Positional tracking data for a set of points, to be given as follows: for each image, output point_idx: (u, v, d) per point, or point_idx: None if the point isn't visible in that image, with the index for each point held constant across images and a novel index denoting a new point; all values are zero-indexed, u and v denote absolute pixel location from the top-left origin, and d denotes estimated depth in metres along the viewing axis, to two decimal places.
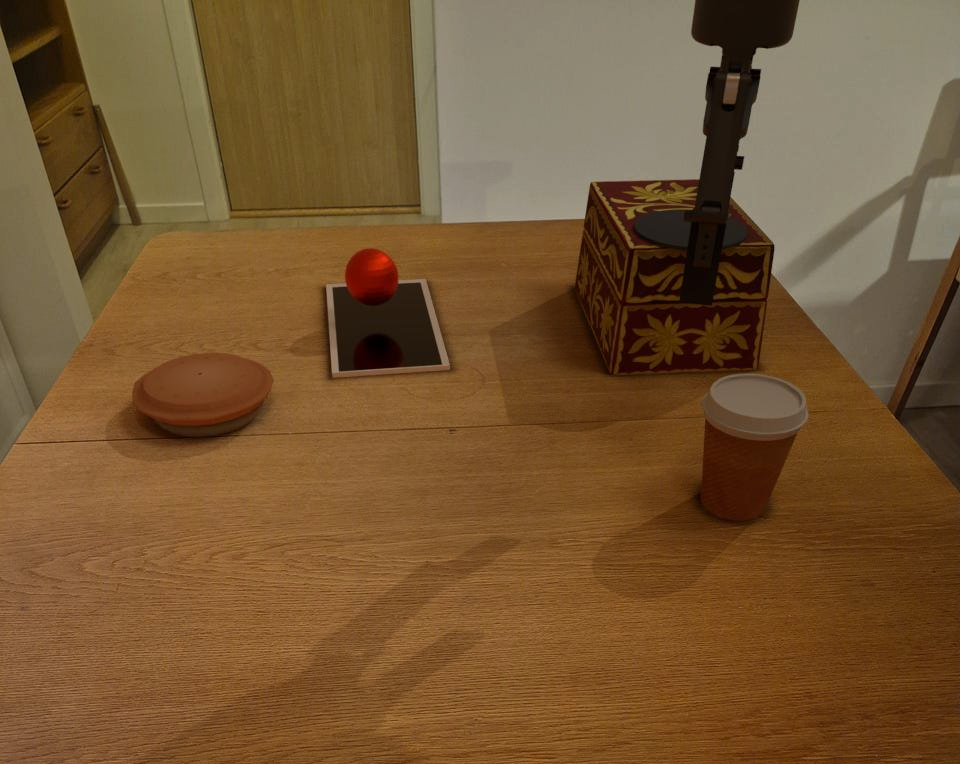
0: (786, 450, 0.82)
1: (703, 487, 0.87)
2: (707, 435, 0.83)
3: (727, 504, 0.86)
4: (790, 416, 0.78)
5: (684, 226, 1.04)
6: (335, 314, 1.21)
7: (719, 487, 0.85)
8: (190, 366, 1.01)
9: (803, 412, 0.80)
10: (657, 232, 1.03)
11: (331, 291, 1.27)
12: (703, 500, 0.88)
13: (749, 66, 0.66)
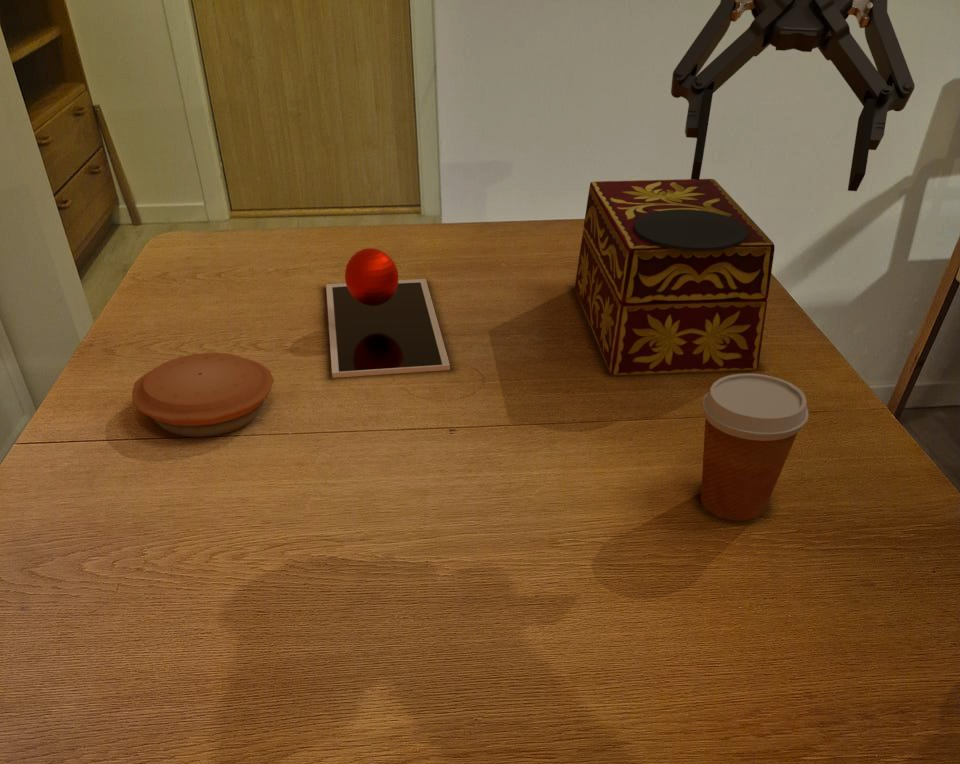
0: (786, 450, 0.82)
1: (703, 487, 0.87)
2: (707, 435, 0.83)
3: (727, 504, 0.86)
4: (790, 416, 0.78)
5: (684, 226, 1.04)
6: (335, 314, 1.21)
7: (719, 487, 0.85)
8: (190, 366, 1.01)
9: (803, 412, 0.80)
10: (657, 232, 1.03)
11: (331, 291, 1.27)
12: (703, 500, 0.88)
13: None
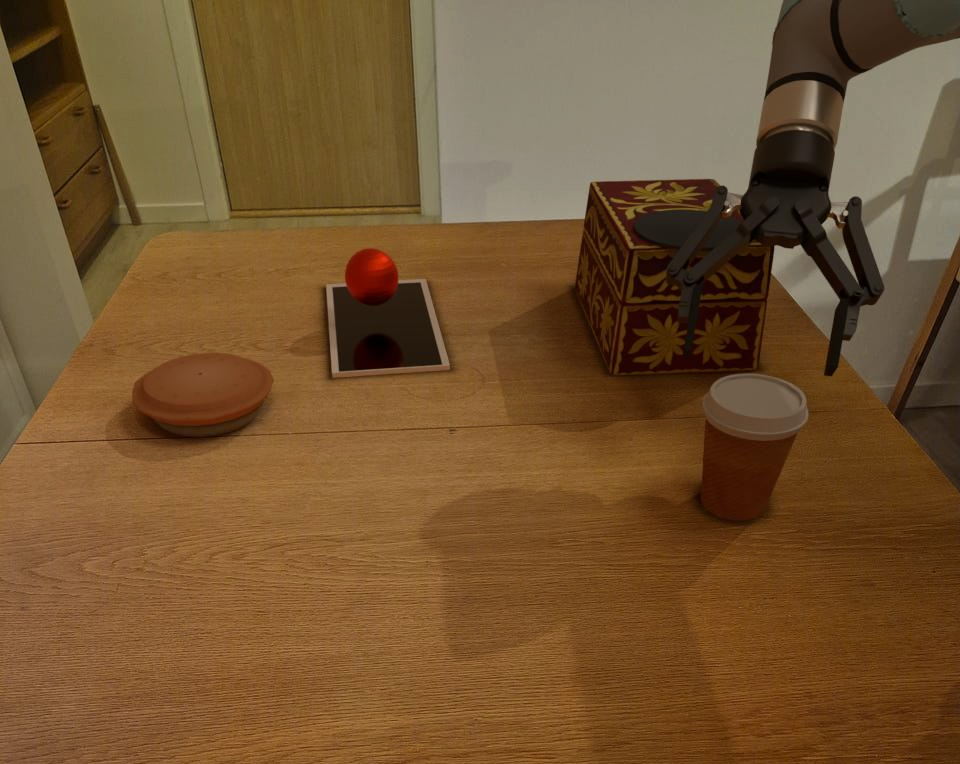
0: (786, 450, 0.82)
1: (703, 487, 0.87)
2: (707, 435, 0.83)
3: (727, 504, 0.86)
4: (790, 416, 0.78)
5: (684, 226, 1.04)
6: (335, 314, 1.21)
7: (719, 487, 0.85)
8: (190, 366, 1.01)
9: (803, 412, 0.80)
10: (657, 232, 1.03)
11: (331, 291, 1.27)
12: (703, 500, 0.88)
13: (750, 189, 0.86)
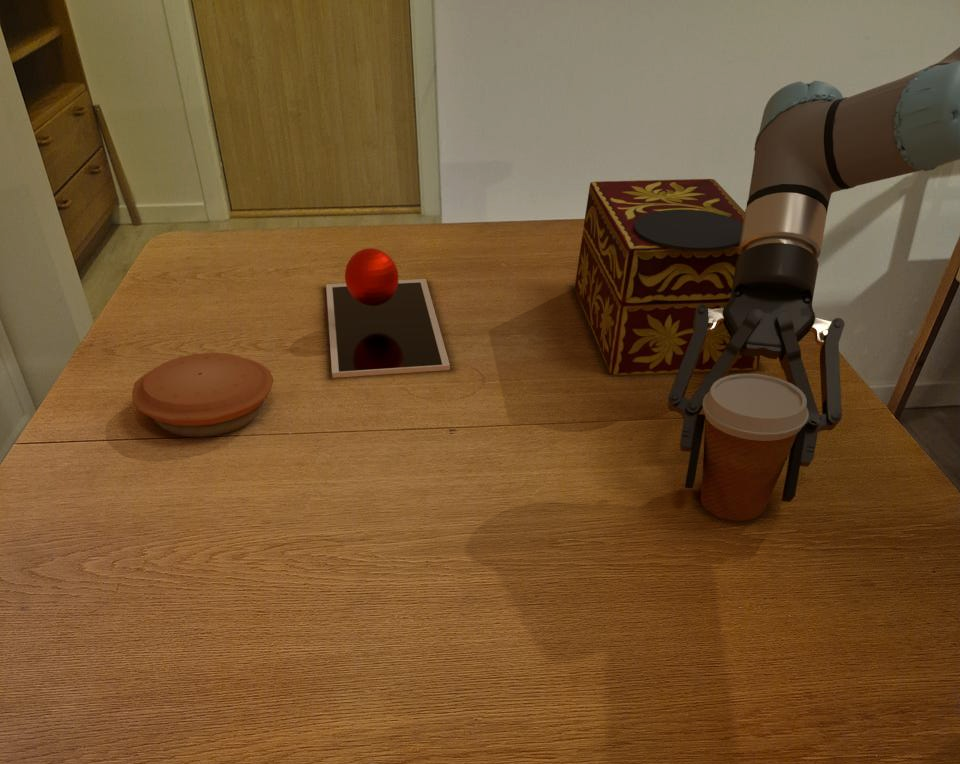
0: (786, 450, 0.82)
1: (703, 487, 0.87)
2: (707, 435, 0.83)
3: (727, 504, 0.86)
4: (790, 416, 0.78)
5: (684, 226, 1.04)
6: (335, 314, 1.21)
7: (719, 487, 0.85)
8: (190, 366, 1.01)
9: (803, 412, 0.80)
10: (657, 232, 1.03)
11: (331, 291, 1.27)
12: (703, 500, 0.88)
13: (732, 300, 0.84)
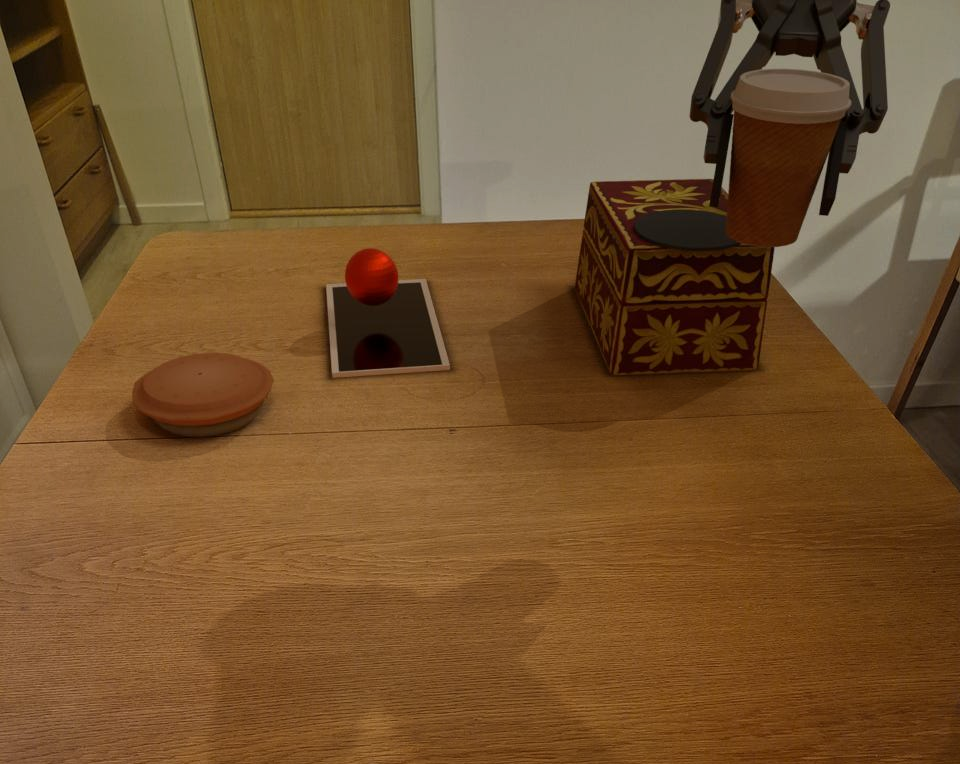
0: (826, 145, 0.72)
1: (730, 208, 0.78)
2: (736, 134, 0.74)
3: (757, 221, 0.76)
4: (832, 92, 0.69)
5: (684, 226, 1.04)
6: (335, 314, 1.21)
7: (748, 200, 0.76)
8: (190, 366, 1.01)
9: (846, 93, 0.70)
10: (657, 232, 1.03)
11: (331, 291, 1.27)
12: (729, 225, 0.79)
13: None
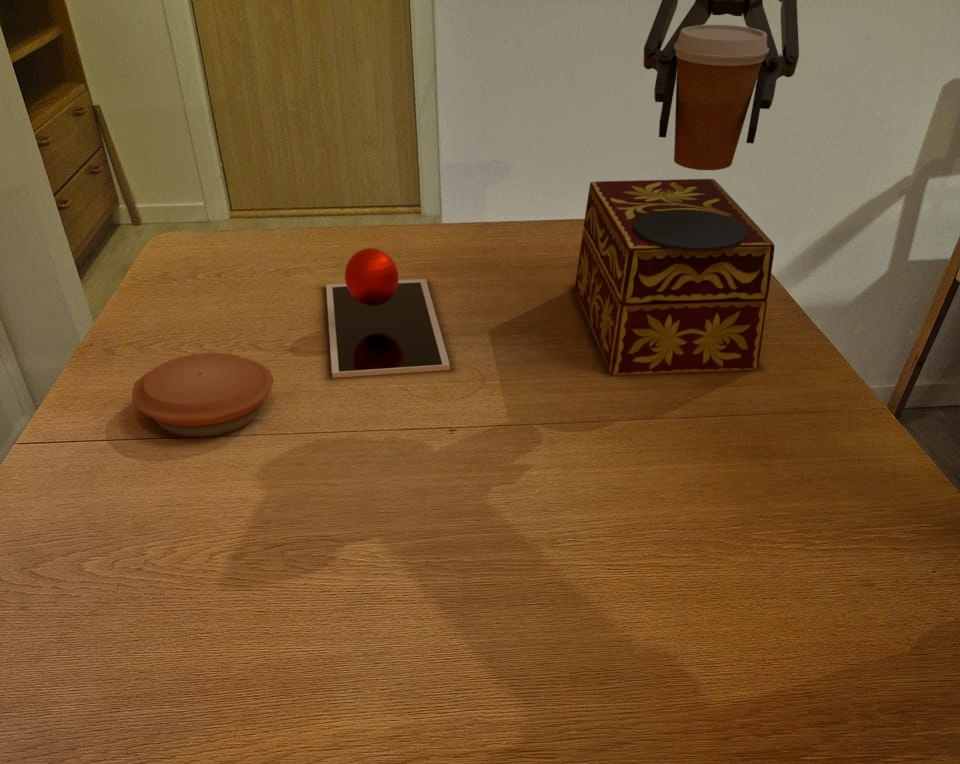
0: (749, 84, 0.91)
1: (676, 139, 0.96)
2: (678, 76, 0.92)
3: (697, 148, 0.95)
4: (751, 40, 0.87)
5: (684, 226, 1.04)
6: (335, 314, 1.21)
7: (689, 130, 0.94)
8: (190, 366, 1.01)
9: (764, 42, 0.89)
10: (657, 232, 1.03)
11: (331, 291, 1.27)
12: (676, 153, 0.97)
13: None
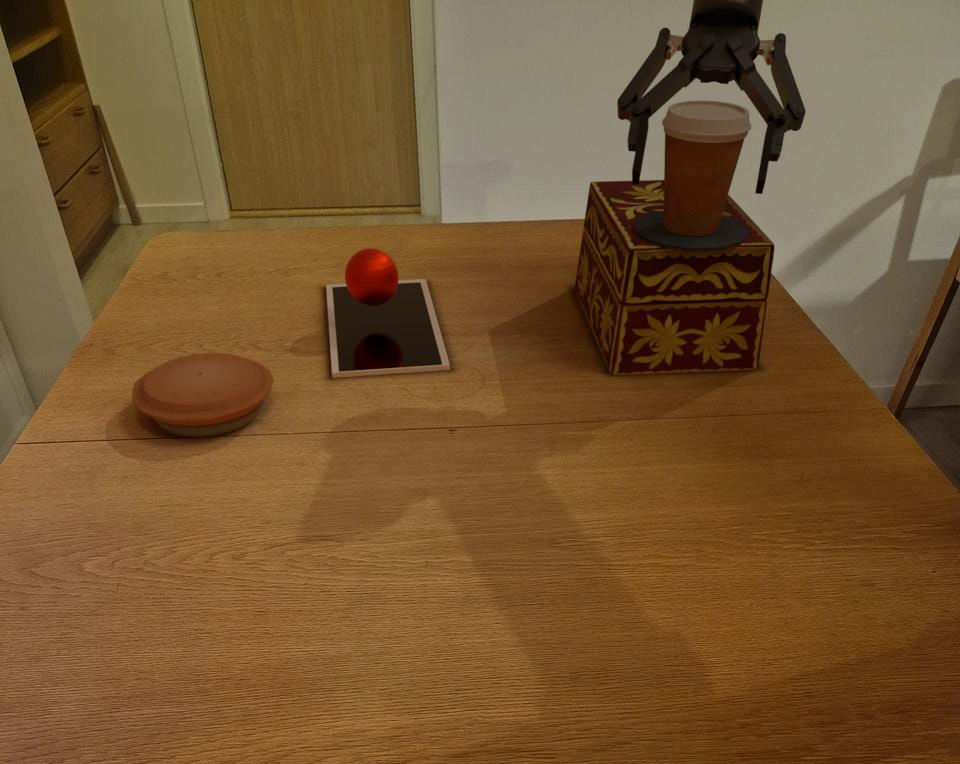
0: (733, 158, 0.96)
1: (665, 206, 1.02)
2: (666, 150, 0.98)
3: (684, 216, 1.00)
4: (734, 119, 0.93)
5: None
6: (335, 314, 1.21)
7: (677, 200, 1.00)
8: (190, 366, 1.01)
9: (746, 120, 0.94)
10: (657, 232, 1.03)
11: (331, 291, 1.27)
12: (665, 219, 1.03)
13: (690, 30, 0.99)
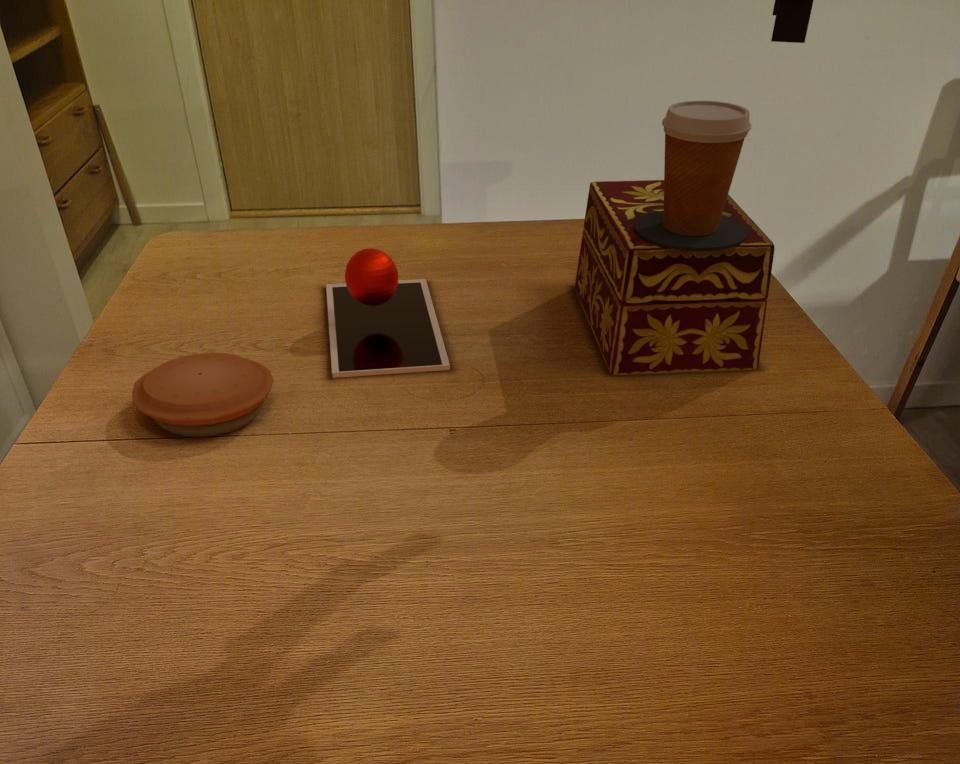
0: (733, 158, 0.96)
1: (665, 206, 1.02)
2: (666, 150, 0.98)
3: (684, 216, 1.00)
4: (734, 119, 0.93)
5: None
6: (335, 314, 1.21)
7: (677, 200, 1.00)
8: (190, 366, 1.01)
9: (746, 120, 0.94)
10: (657, 232, 1.03)
11: (331, 291, 1.27)
12: (665, 219, 1.03)
13: None
